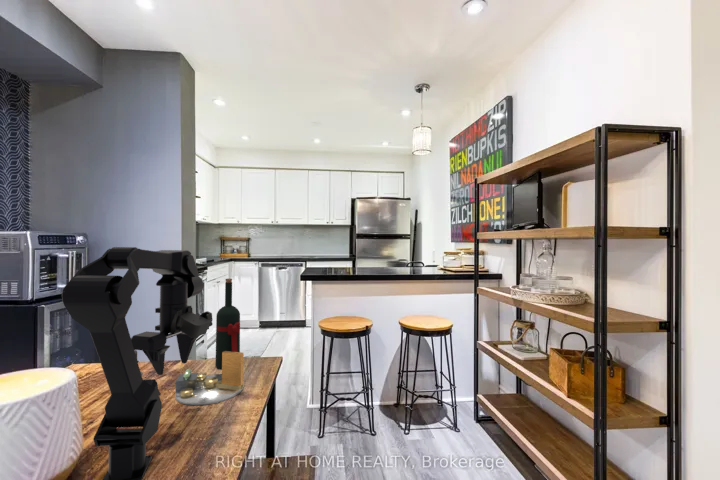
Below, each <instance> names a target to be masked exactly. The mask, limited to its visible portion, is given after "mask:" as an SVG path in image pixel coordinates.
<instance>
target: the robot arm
mask: <svg viewBox="0 0 720 480" xmlns="http://www.w3.org/2000/svg"><path fill="white" fill-rule="evenodd" d="M141 269H146V270H152V272H153V273H156V274H159V275H161V278H160V279H158V280H157V281H156V283H155V285H156V286H157V287H160V288H159V289H160V290H159V307H155V309H154V310H155V314H156V313H157V314H159V324H157V325H155V326H154V330H155V331H144V332H141V333H137V334H134V335H132V336H131V335H130V331H129V328H128V324H127V321H126V316H127V314H128V312H129V310H130V308H131V307H132V304H133V301H132V300H133V298H132V296H133V294H134V293H135V291H136V290H137V288H138V286H139V285H140V279H139V273H138V272H139V271H140V270H141ZM114 270H127V271H126V273H125V274H124V275H123V276H121V275H110V274H111V273H113V272H114ZM204 287H205V284H204V281H203V279H202V278H201V277H200V273H199V270H198V267H197V263H196V261H195V258H194V256H193V255H192V253H191V251H189V250H187V249H185V250H183V249H181V250H180V249H179V250H178V249H177V250H176V249H174V250H172V249H160V250H149V249H147V250H146V249H142V248H138V247H134V246H127V247H126V246H114V247H112V248H111V247H110V248H108V249H107V250H106V251H104V253H103V254H102V255H101V257H98V258H97V259H95V260H94V261H91V262H90V263H88V264H86V265H85V266H83V267H81V268H79V270H78V271H77V272H76V273H75V274H74V275H73V277H71V279H70V280H69V281H68V282H67V283H66V284H65V286H64V287H63V288H62V292H61V298H62V299H61V300H62V304H63V306H64V308H65V309H66V311H67V312H68V314H69V316H70V318H71V319H72V320H74V321H75V322H76V323H78V324H79V325H81V326H82V327H84V328H85V329H86V330H88V332H89V334H90V336H91V339H92V342H93V344H94V348H95V350H96V353H97V356H98V358H99V362H100V365H101V368H102V371H103V373H104V376H105V379H106V382H107V385H108V389H109V391H110V396H109V398H108V400H107V402H106V403H105V406H104V414H103V417H102V418H101V422H100V423H99V425H98V428H97V430H96V431H95V434H94V436H93V442H94V446H95V447H104V446H105V447H108V470H107V471H106V473H105V474H104V475H103V478H102V479H101V480H142V479H143V477H144V476H145V473H146V471H147V470H148V467H149V465H150V463H151V461H152V457H153V455H151V454H150V455H147V450H146V449H147V448H146V447H147V443H148V442H149V441H150V440H151V439H152V437H154V436H155V434H156V433H157V432H158V430H159V426H160V419H161V413H162V407H163V405H162V400H161V397H160V396H161V392H160V390H159V387H158V386H159V385H158V382H157V380H156V379H153V378H151V379H143V375H142V376H141V372H142V371H141V369H140V365H139V362H137V360H138V357H137V358H136V355H135V351H134V350H136V351H142V352H143V353H144V355H145V356H146V357H147V359H148V360H149V362H150V364H151V365H152V367H153V369H154V371H155V373H156V374H157V375H158V376H163V375H164V369H165V359H166V357H165V355H166V352H167V351H168V349H169V348H170V347H171V345H167V340H168V339H171V338H173V337H176V341H177V346H178V347H177V348H178V352H179V357H180V361H181V363H182V364H187V363H188V360H189V356H190V354H191V351H192V348H193V347H194V343H195V341H196V340H197V339H198V338H199V337H200V336H203V335H206V334H207V331H208V330H210V327H212V326H213V313H212V312H210V311H208V310H207V311H204V312H202V313H197V314H196V313H194V312H193V307H192V305H188V299H190V298H193V297H195V296H197V295H200V294H201V293H202V292H203V290H204ZM157 331H158V332H157Z"/></svg>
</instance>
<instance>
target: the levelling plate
mask: <svg viewBox="0 0 720 480" xmlns="http://www.w3.org/2000/svg"><path fill="white" fill-rule="evenodd" d="M210 377H216V378H218V382H219V381H220V380H222V373H215V374H208V375H207V372H193V370H192V369H191V368H188V369H186V370H185V372H184V373H181V374H178V377H177V379H176V380H175V391H174V392H175V394H174V395H175V396H174V397H175V398H174V399H175V400H176V402H178V403H180V404H181V405H184V406H185V405H186V406H194V407H195V406H196V407H198V406H199V407H200V406H207V405H208V406H209V405H214V404H218V403H221V402H225V401H227V400H228V401H229V400H231V399H232V398H234V397H236V396H237V395H239V394H240V393H242V391H243V389H244V387H243V388H242V389H241V390H234V389H226V388H218V387H216V386H214V387H210V388H206V387H204V380H205V379H207V378H210ZM243 383H244V384H245V381H244V380H243Z"/></svg>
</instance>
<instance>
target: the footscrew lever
mask: <svg viewBox="0 0 720 480" xmlns="http://www.w3.org/2000/svg"><path fill="white" fill-rule="evenodd" d="M244 355H245V354H244V352H241V351H240V352H231V351H224V352H222V369H221V374H222V380H220V381H219V382H218V378H216V377H210V378H207V379H205V380H204V387H206V388H210V387H214V386H216V387H218V388H226V389H234V390H241V389H242V388H243V389H244V387H245V382H244V383H243V381H244Z"/></svg>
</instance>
